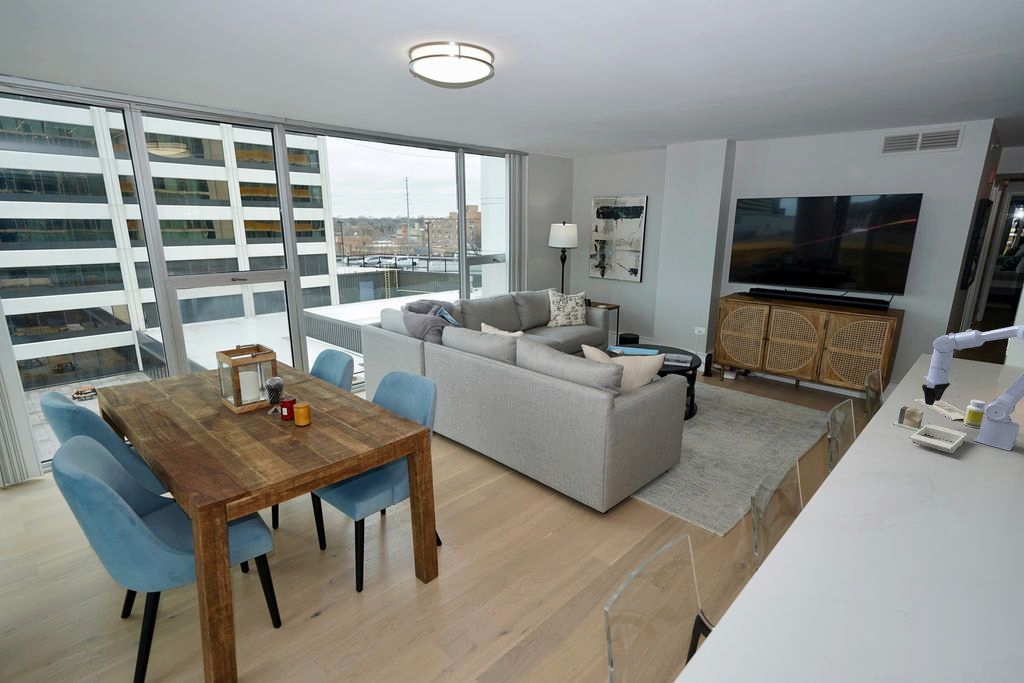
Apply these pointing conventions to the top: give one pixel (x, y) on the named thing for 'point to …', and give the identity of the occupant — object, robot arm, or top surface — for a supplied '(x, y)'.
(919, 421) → the block
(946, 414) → the newspaper
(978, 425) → the supplement bottle
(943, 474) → the top surface
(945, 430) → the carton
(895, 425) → the tile
